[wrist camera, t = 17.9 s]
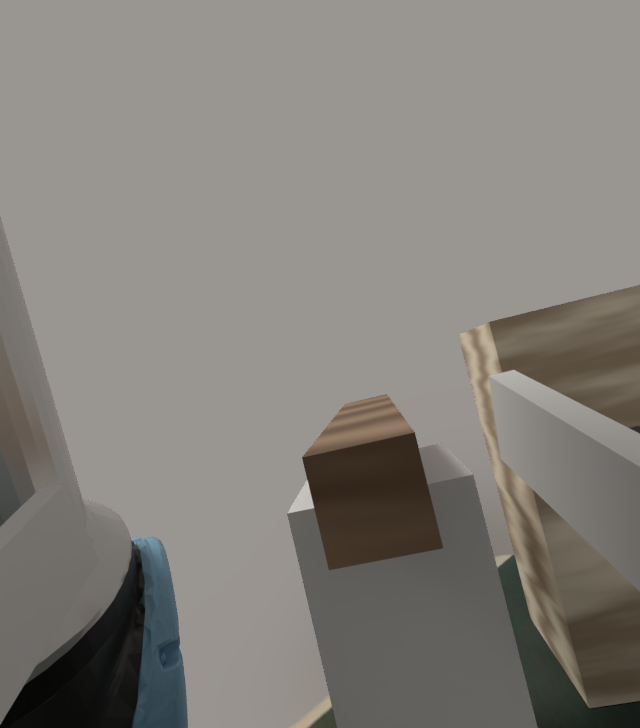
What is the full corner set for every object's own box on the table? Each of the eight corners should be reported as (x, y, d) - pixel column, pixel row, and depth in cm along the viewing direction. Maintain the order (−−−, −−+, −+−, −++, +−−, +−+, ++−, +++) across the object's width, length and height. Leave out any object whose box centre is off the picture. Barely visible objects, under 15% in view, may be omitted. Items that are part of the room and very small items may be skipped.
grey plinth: (585, 913, 22) (473, 474, 23) (385, 934, 23) (287, 513, 24) (517, 742, 31) (441, 443, 32) (380, 762, 33) (311, 471, 34)
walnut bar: (443, 548, 15) (414, 432, 15) (328, 570, 15) (302, 457, 15) (397, 436, 41) (386, 394, 41) (355, 445, 41) (345, 404, 41)
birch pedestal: (760, 682, 32) (649, 282, 33) (589, 708, 33) (488, 322, 34) (653, 597, 43) (575, 306, 45) (530, 618, 45) (458, 335, 46)
